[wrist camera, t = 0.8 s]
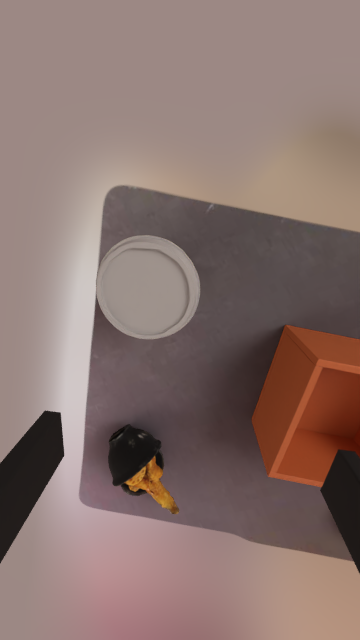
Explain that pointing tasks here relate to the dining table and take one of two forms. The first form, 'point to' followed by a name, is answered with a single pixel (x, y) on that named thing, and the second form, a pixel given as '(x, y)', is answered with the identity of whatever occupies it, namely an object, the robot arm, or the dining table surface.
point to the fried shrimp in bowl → (139, 465)
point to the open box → (309, 405)
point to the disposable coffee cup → (147, 287)
